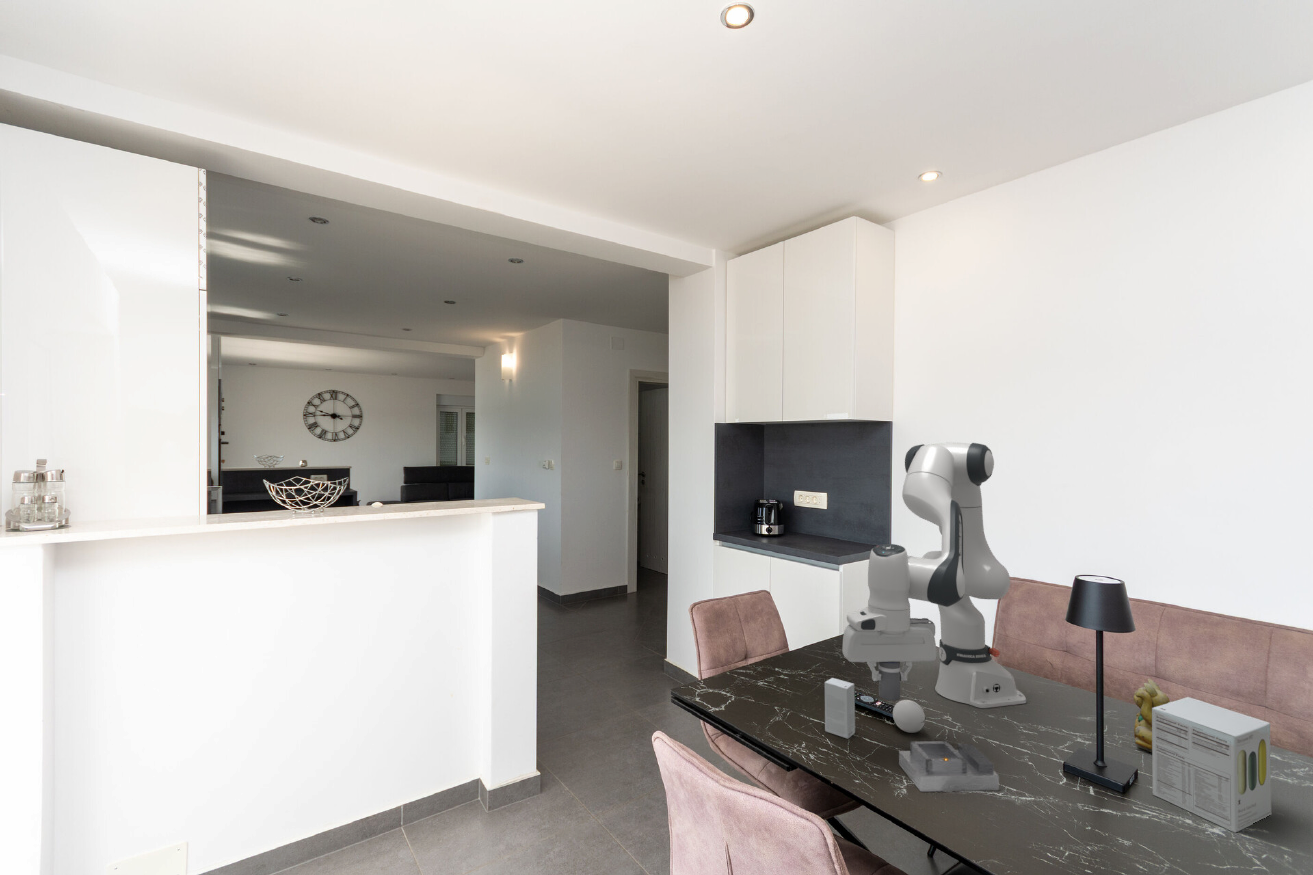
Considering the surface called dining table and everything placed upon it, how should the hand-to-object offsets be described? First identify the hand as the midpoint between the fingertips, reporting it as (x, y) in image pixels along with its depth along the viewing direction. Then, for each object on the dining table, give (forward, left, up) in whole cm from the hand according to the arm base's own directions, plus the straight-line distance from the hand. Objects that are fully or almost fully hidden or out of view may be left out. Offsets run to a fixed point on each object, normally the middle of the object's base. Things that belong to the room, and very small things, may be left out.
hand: (889, 680), depth 133 cm
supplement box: (-55, +19, -17) cm, 60 cm away
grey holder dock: (-9, +8, -17) cm, 21 cm away
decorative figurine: (-63, -2, -17) cm, 65 cm away
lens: (0, 0, -4) cm, 4 cm away
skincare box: (+7, -12, -17) cm, 22 cm away
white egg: (-11, -13, -17) cm, 24 cm away
